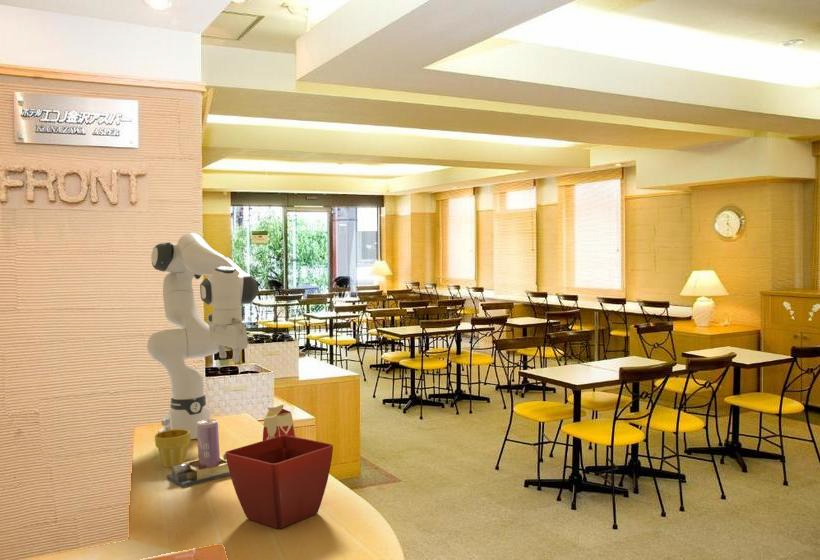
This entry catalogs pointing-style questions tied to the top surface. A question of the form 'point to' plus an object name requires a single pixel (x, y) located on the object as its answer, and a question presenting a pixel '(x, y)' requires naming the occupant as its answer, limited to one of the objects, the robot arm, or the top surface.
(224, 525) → the top surface
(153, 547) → the top surface
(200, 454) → the beverage can
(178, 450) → the plant pot
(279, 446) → the plant pot
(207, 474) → the grey and tan tray
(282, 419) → the milk carton
